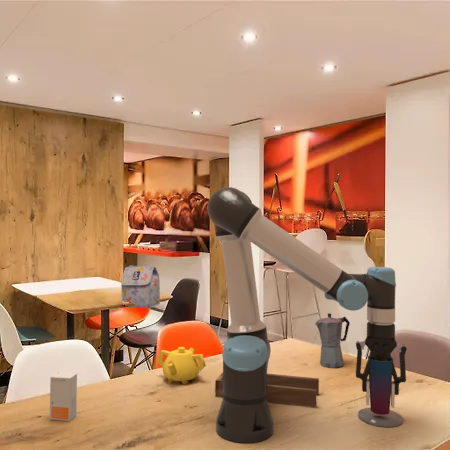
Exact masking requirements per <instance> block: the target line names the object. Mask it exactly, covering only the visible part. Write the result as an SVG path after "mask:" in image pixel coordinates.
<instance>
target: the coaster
mask: <svg viewBox="0 0 450 450" xmlns="http://www.w3.org/2000/svg"><path fill="white" fill-rule="evenodd" d="M357 417H358V419H360V421H362V422H363V423H365V424H367V425H370V426H374V427H377V428H378V427H379V428H395V427H399V426H402V425H403V423H404V418H403V416H402V414H400V413H398V412H397V411H393V410H391V409H390V411H389V414H386V415H380V414H375V413H373V412H372V411H371V407H364V408H361V409H360V410H359V411H358V412H357Z"/></svg>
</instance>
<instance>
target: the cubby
mask: <svg viewBox="0 0 450 450" xmlns="http://www.w3.org/2000/svg"><path fill="white" fill-rule="evenodd" d="M214 382H215V384H214V385H215V391H214V392H215V393H214V394H215V397H217V398H223V371H222V372H221V374H220V375H219V376H218V377H216V379H215V381H214ZM319 387H320V379H319V378H317V377H307V376H298V375H285V374H275V373H267V403H270V404H271V403H272V404H281V405H290V406H298V407H306V408H307V407H308V408H317V396H319V394H320V392H319V391H320V388H319Z"/></svg>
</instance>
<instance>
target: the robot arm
mask: <svg viewBox="0 0 450 450" xmlns="http://www.w3.org/2000/svg"><path fill="white" fill-rule="evenodd" d="M206 208H207V214H208V217H209V220H211V221H212V223H213V224H214V225H213V226H214V232H215V238H216V239H217V240H218V241H219V242H221V250H222V256H223V265H224V274H225V283H226V289H227V298H228V308H229V314H230V324H229V326H228V327H227V328H226V334H227V340H226V341H225V342H224V344H223V349H222V353H221V354H222V355H221V356H222V372H223V397H222V401H221V404H220V407H219V410H218V414H217V416H216V420H215V432H216V433H217V435H218V436H220V437H221V438H223V439H224V440H228V441H231V442H236V443H243V444H244V443H256V442H261V441H264V440H267V439H268V438H269V437H270V438H271V436H272V435H273V434H274V419H273V417H272V412H271V410H270V407H269V404H268V403H269V402H267V374H268V365H269V361H270V360H269V359H270V357H271V344H270V341H269V339H268V332H267V330H268V329H267V325H266V323H265V322H264V321H262V319H261V315H260V308H259V307H260V306H259V300H258V299H259V298H258V291H257V281H256V275H255V274H256V272H255V267H254V257H253V249H252V244H253V245H255V247H258V248H260V249H261V250H262V251H264V252H265V253H267V254H268V255H269V256H271V257H272V258H273V259H275V260H277V261H278V262H279V263H281V264H282V265H284V266H285V267H287V268H288V269H289V270H291V271H293V272H294V273H295V274H297V275H298V276H300V277H301V278H303V279H304V280H305V281H306V282H308V283H310V284H311V285H313V286H314V287H315V288H317V289H318V290H320V292H323V293H324V298H325V299H326V300H332V301H336V302H337V303H338V304H339V306H340V307H342V308H344V309H346V310H347V311H351V312H352V311H354V312H355V311H359V310H361V309H362V308H364V307H365V306H366V308H367V309H366V320H367V323H366V337H365V339H364V340H363V341H359V340H357V341H356V342H355V347H356V350H357V351H356V352H357V353H356V365H355V378H357V379H359V380H361V391H362V392H363V393H365V403H366V405H367V406H369V405H370V388H369V372H370V368H369V360H368V359H367V361H366V364H365V367H364V369H363V372H361V370H362V358H363V350H364V349H365V346H366V347H367V349H368V350H369V351H370V352H369V355H368V356H369V358H370V359H372V360H374V358H375V356H384V357H387V360H388V361H391V360H392V358H393V357H392V355H391V354H392V353H393V351H395V349H397V352H398V353H399V354H398V356H399V371H400V374H399V375H400V376H398V374H397V371H396V367H395V364H394V363H393V364H392V384H391V398H390V408H395V404H396V402H395V401H396V400H395V399H396V398H395V396H399V394H400V384H401V383H406V382H407V373H406V370H407V369H406V359H405V358H406V352H407V350H408V349H407V347H406V345H405V344H400V343H397V340H396V325H395V322H396V287H397V283H396V271H395V269H394V268H391V267H386V266H369V267H368V268H367V272H366V273H347V271H344V270H343V269H341V268H340V267H339V266H337V265H336V264H335V263H333V262H331V261H330V260H329V259H327V258H326V257H324V256H323V255H321V254H320V253H319V252H317V251H316V250H314V249H313V248H311V247H309V246H308V245H306V244H305V243H303V242H302V241H301V240H299V239H298V238H297V237H295V236H294V235H292V234H291V233H289V232H287V230H285V229H284V228H282V227H280V226H279V225H277V224H276V223H275V222H273V221H272V220H270V219H268V218H267V217H266V216H264V215H263V212H262V209H261V208H259V207H258V206H256V205H255V204H254V203H253V202H252V200H251V198H250V197H249V196H248V194H247V193H245V192H244V191H241V190H239V189H237V188H235V187H229V186H227V187H222V188H218V189H217V190H216V191H214V192H213V193H212V194H211V196H210V197H209V199H208V201H207V207H206Z"/></svg>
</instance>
